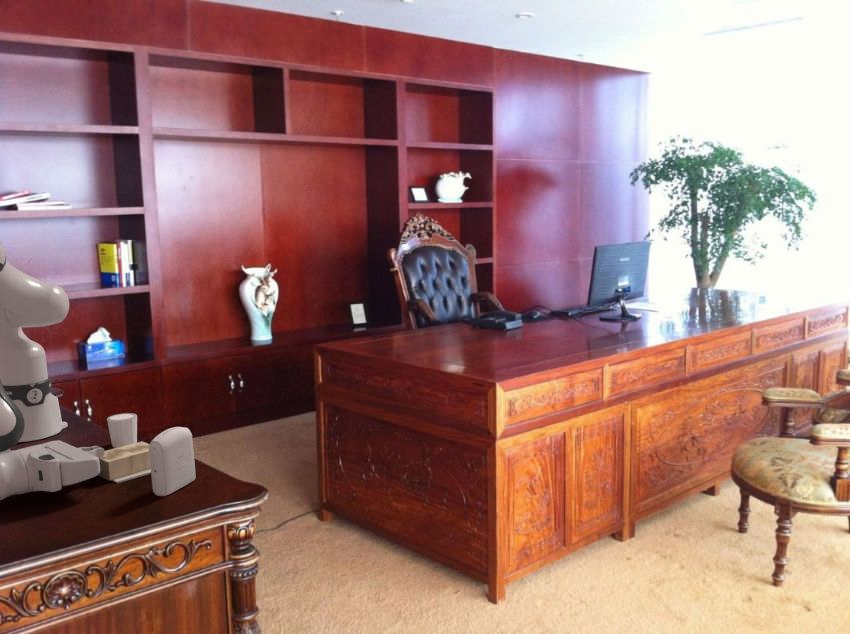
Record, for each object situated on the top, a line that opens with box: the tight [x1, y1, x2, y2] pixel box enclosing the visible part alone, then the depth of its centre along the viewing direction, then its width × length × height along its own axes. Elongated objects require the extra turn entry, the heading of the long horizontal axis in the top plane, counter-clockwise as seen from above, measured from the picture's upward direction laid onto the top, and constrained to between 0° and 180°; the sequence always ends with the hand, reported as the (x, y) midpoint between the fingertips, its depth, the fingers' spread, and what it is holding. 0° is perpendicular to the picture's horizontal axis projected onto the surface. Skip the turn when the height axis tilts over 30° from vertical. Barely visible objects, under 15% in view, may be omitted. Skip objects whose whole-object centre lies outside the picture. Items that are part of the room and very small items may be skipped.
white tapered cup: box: [106, 412, 138, 448], centre depth 196 cm, size 7×7×7 cm
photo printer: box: [149, 426, 197, 497], centre depth 165 cm, size 10×4×12 cm, turn 158°
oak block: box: [97, 440, 151, 481], centre depth 177 cm, size 8×4×12 cm
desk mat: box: [111, 468, 151, 484], centre depth 178 cm, size 12×13×1 cm
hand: (101, 450), depth 173 cm, fingers closed
